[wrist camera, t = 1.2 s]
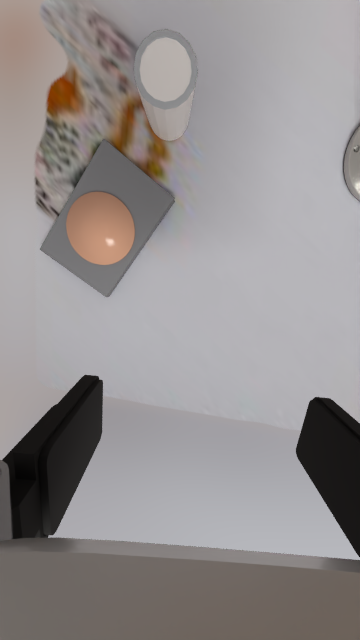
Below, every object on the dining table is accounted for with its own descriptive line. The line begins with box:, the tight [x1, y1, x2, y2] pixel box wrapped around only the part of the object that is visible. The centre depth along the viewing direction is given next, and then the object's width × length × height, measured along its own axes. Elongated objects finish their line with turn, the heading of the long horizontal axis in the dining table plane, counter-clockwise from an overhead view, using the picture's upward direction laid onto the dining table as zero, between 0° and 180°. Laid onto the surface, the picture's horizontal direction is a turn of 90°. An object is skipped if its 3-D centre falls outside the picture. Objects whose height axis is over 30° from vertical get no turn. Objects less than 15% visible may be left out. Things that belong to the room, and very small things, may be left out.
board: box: [40, 139, 175, 297], centre depth 31 cm, size 18×12×2 cm, turn 143°
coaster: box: [66, 192, 135, 265], centre depth 31 cm, size 10×10×1 cm
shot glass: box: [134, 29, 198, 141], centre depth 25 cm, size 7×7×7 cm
